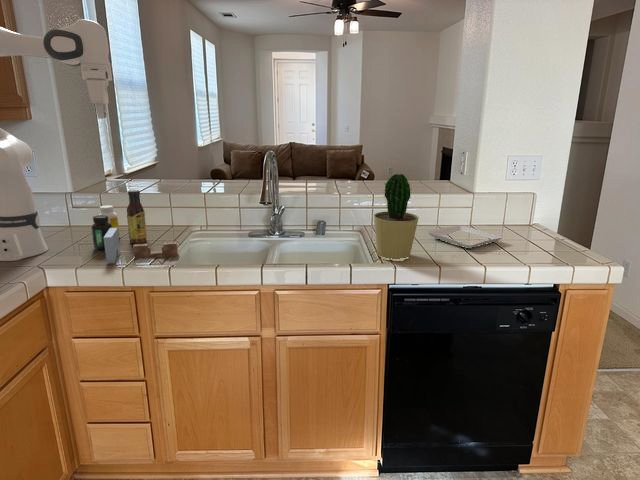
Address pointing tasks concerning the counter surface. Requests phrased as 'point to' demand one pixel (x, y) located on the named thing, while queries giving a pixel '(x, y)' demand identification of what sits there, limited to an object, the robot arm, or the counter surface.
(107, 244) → the blue gray rectangular block
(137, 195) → the sauce bottle
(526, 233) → the counter surface
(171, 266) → the counter surface
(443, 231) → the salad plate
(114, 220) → the supplement bottle
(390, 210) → the potted cactus
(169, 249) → the notched block
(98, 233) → the supplement bottle
